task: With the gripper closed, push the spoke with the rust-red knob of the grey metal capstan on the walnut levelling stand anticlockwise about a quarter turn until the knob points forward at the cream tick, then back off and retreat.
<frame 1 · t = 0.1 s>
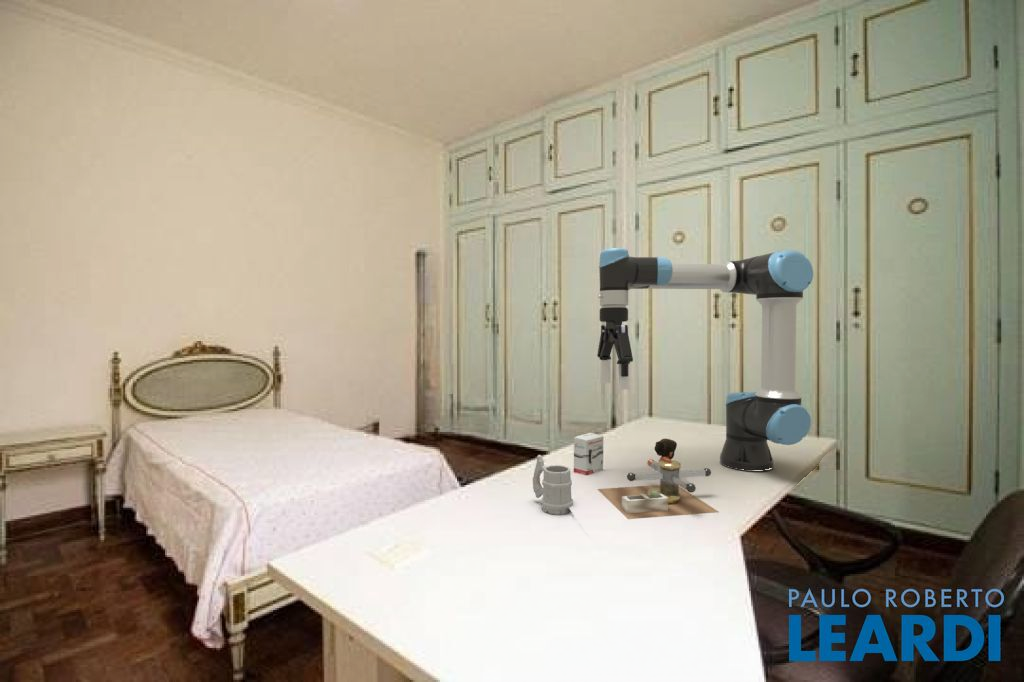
hand: (613, 386, 131), 28 cm above the table, fingers open, 13 cm apart
ink box: (588, 476, 143), on the table
figurine: (666, 481, 138), on the table
capstan: (669, 478, 119), point 6 cm above the table, hinge at 0.0°
stand: (654, 505, 119), on the table
mug: (550, 507, 119), on the table
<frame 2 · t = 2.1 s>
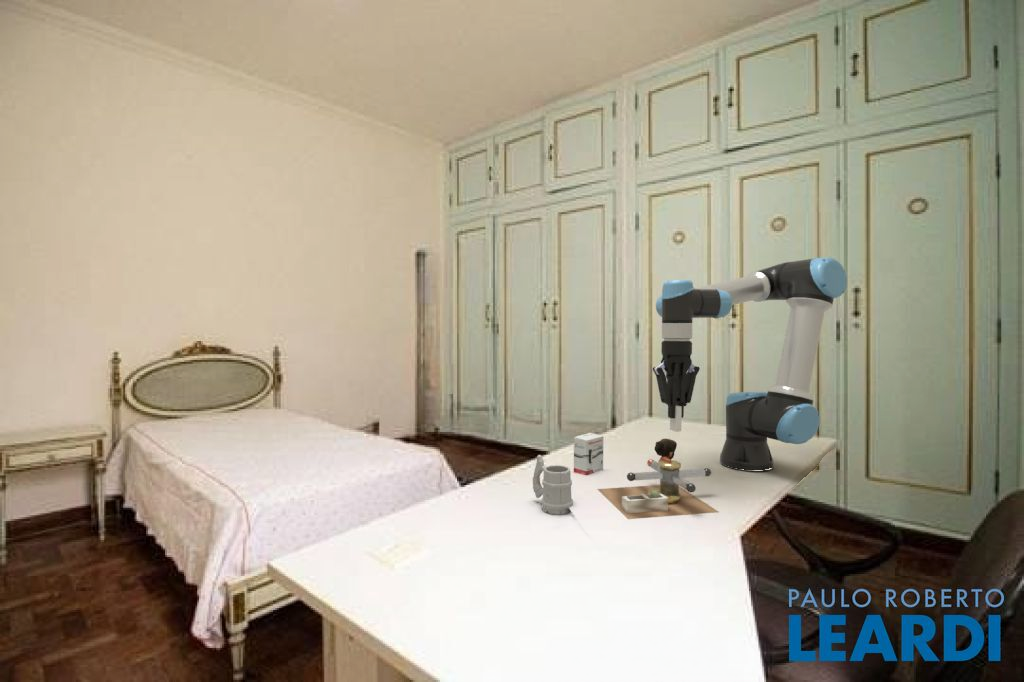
hand: (675, 430, 126), 17 cm above the table, fingers closed
nothing on the table moved.
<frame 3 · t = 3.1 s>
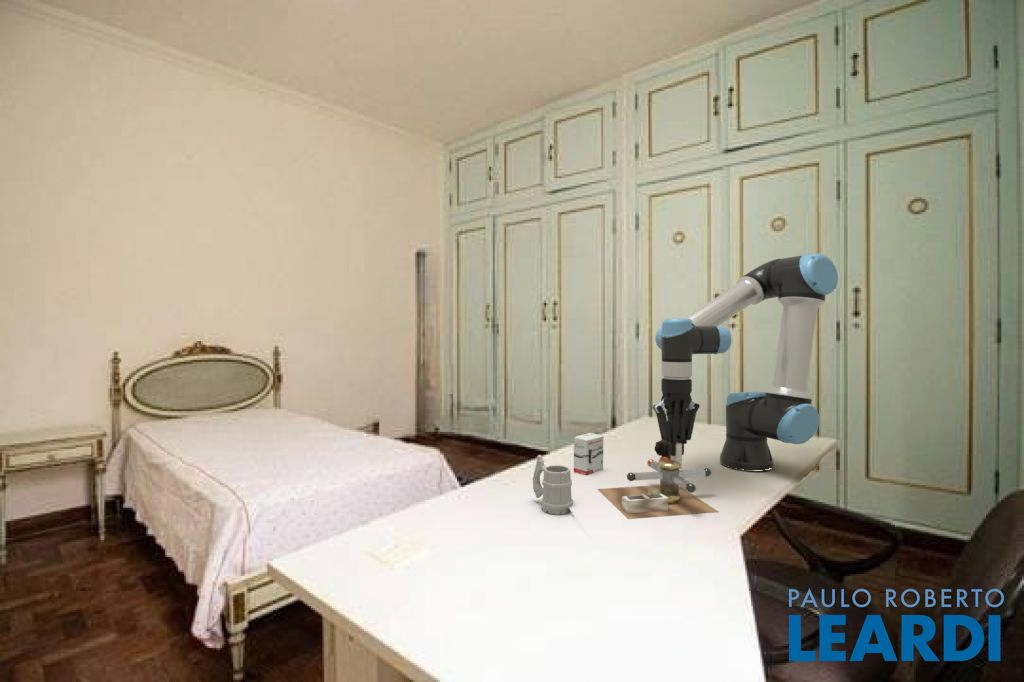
hand: (676, 467, 127), 7 cm above the table, fingers closed
nothing on the table moved.
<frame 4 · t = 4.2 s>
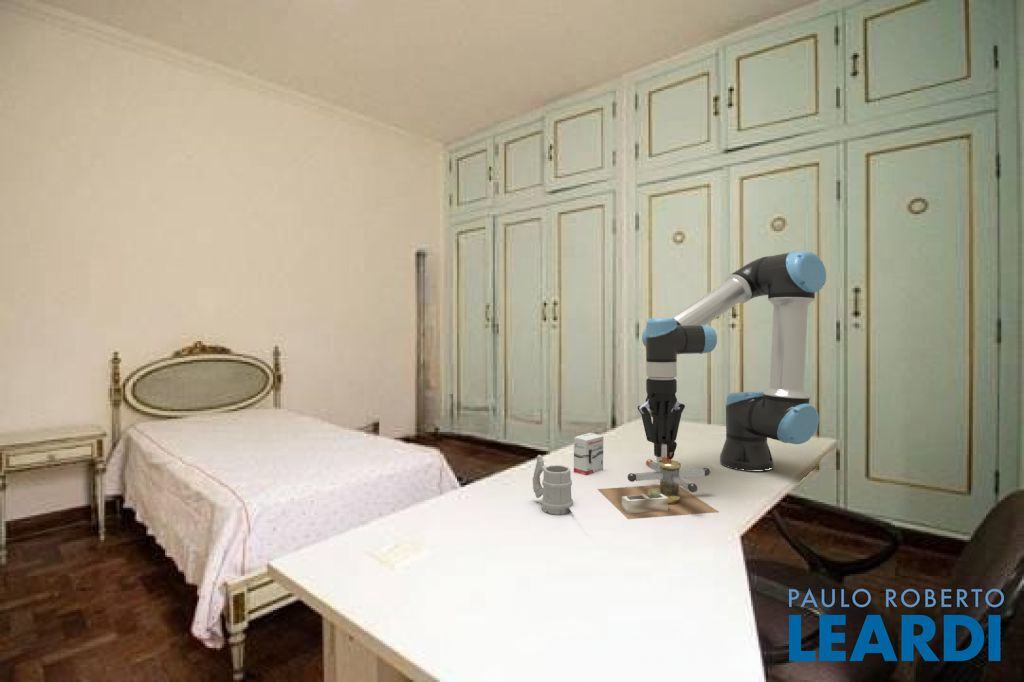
hand: (661, 468, 126), 7 cm above the table, fingers closed
capstan: (669, 478, 119), point 6 cm above the table, hinge at 2.4°, touching gripper
everything else where it was.
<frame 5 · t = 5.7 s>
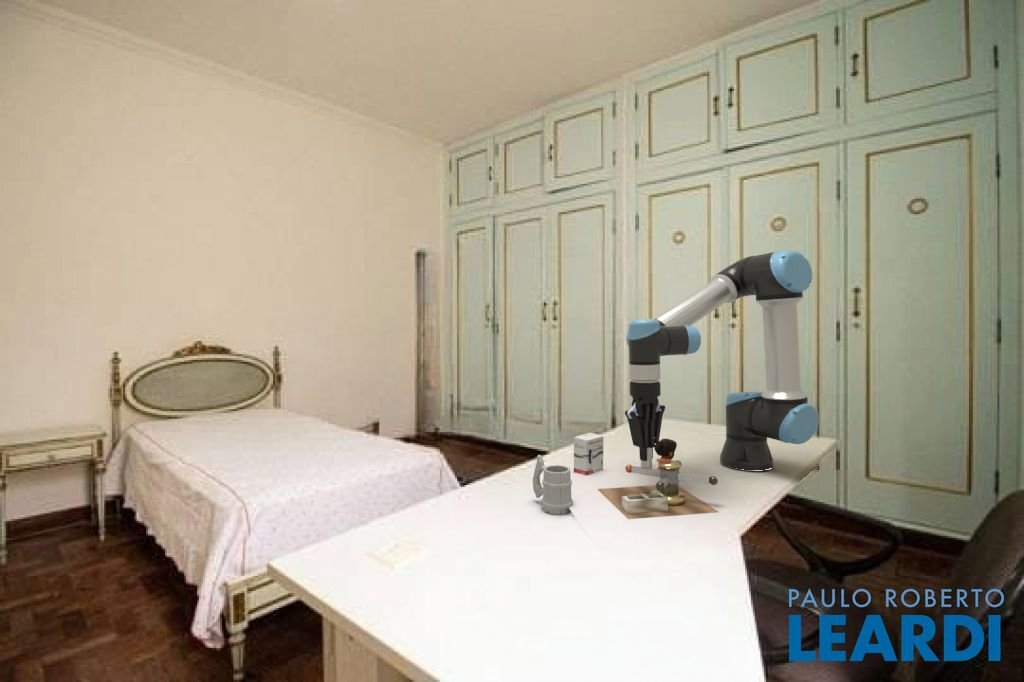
hand: (646, 472, 124), 7 cm above the table, fingers closed
capstan: (669, 478, 119), point 6 cm above the table, hinge at 50.9°, touching gripper
everything else where it was.
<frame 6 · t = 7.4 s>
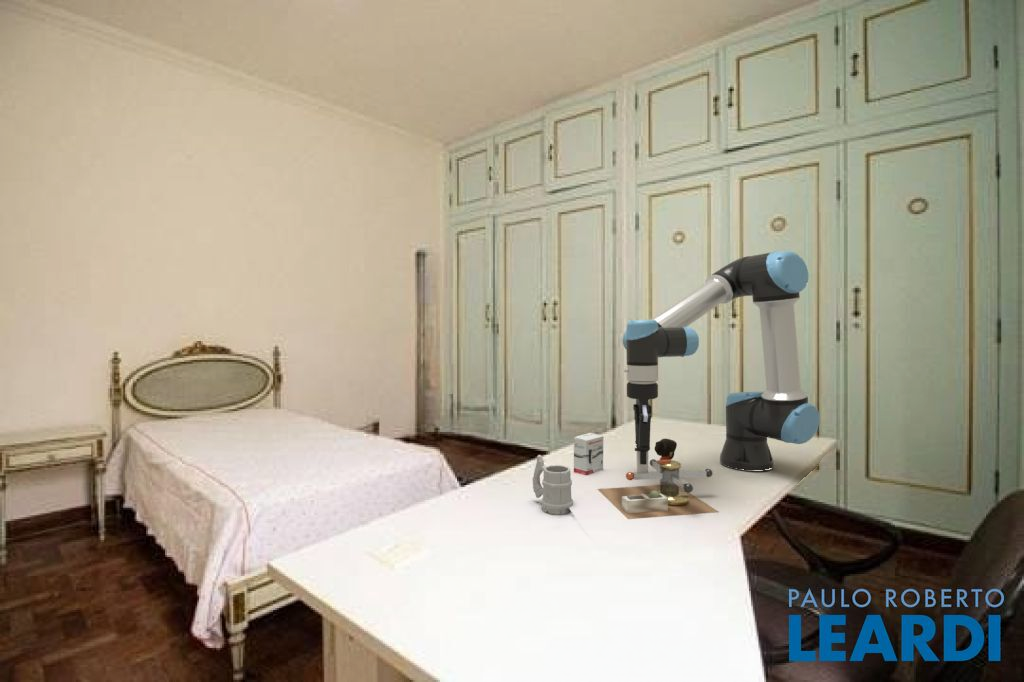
hand: (642, 475, 121), 7 cm above the table, fingers closed
capstan: (669, 478, 119), point 6 cm above the table, hinge at 86.3°
everything else where it was.
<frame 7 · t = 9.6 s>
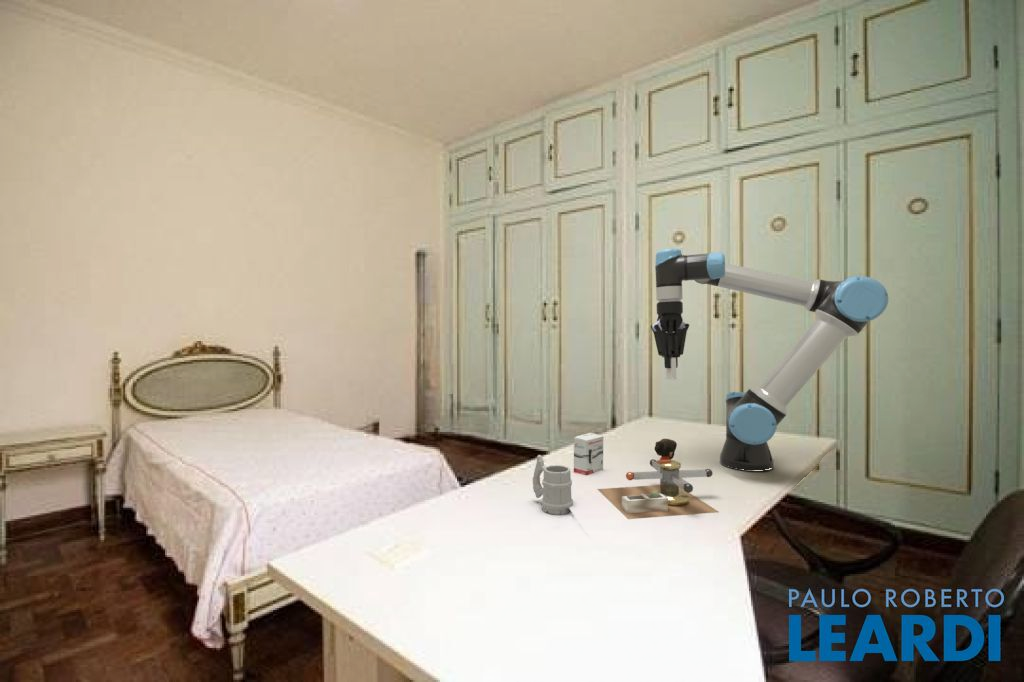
hand: (671, 378, 147), 28 cm above the table, fingers closed
nothing on the table moved.
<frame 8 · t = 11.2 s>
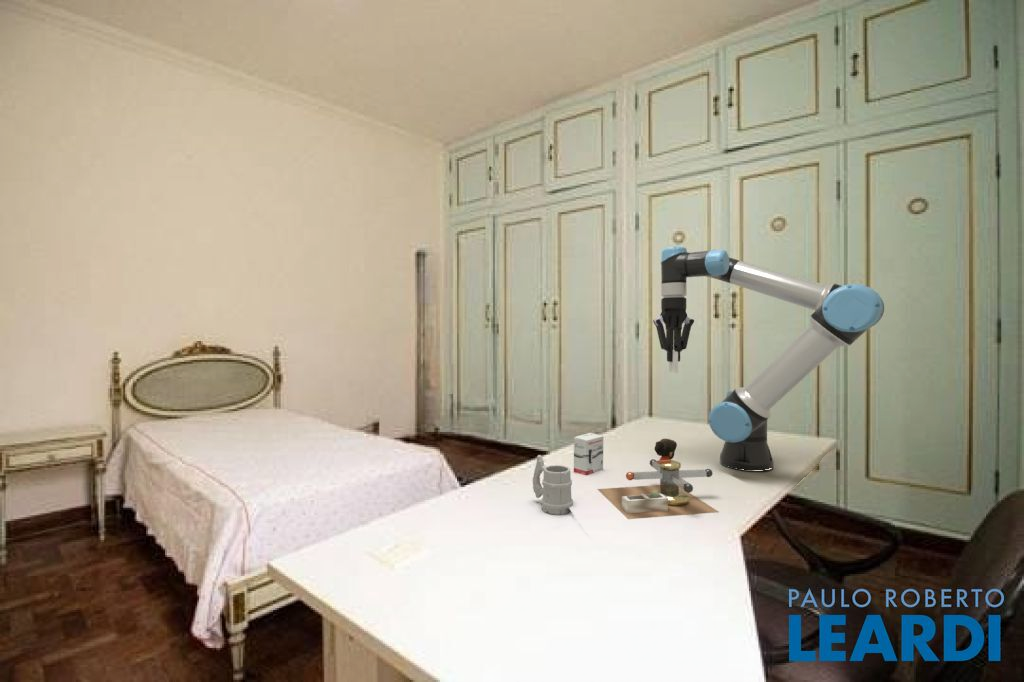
hand: (673, 372, 153), 29 cm above the table, fingers closed
nothing on the table moved.
at the end: capstan at +86° (first picture: +0°) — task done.
